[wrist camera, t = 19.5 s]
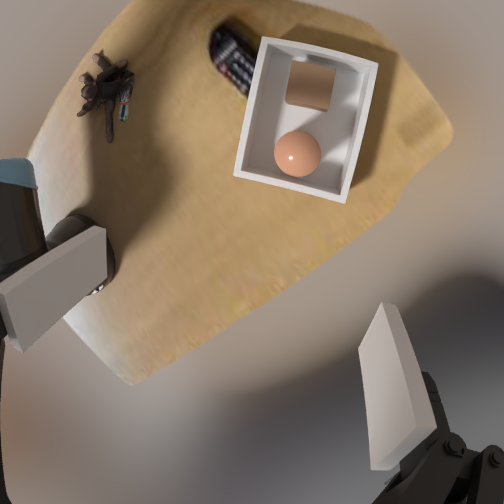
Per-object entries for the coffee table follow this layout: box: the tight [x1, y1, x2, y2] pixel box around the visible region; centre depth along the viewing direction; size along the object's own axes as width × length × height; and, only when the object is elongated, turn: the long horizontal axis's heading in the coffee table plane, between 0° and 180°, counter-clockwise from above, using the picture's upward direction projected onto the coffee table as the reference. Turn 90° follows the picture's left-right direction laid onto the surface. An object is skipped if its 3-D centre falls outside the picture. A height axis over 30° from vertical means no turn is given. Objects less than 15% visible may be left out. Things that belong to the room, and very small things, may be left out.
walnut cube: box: [285, 60, 336, 112], centre depth 31 cm, size 5×5×5 cm
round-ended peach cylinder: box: [274, 131, 321, 177], centre depth 33 cm, size 5×5×7 cm
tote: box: [233, 36, 378, 204], centre depth 33 cm, size 14×18×5 cm
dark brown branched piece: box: [77, 53, 134, 143], centre depth 37 cm, size 12×10×12 cm
